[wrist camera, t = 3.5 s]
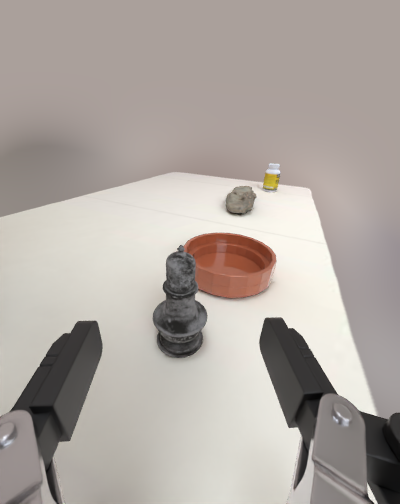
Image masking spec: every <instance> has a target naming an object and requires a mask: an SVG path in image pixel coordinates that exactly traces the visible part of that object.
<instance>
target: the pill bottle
mask: <svg viewBox="0 0 400 504" xmlns="http://www.w3.org/2000/svg"><path fill="white" fill-rule="evenodd" d="M279 167H280V165H279V164H269V169H268V170H266V173H265V178H264V184H263V190H264V191H268V192H275V191H277V187H278V182H279V177H280V171H279V170H278V169H279Z"/></svg>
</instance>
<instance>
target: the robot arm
mask: <svg viewBox="0 0 400 504" xmlns="http://www.w3.org/2000/svg"><path fill="white" fill-rule="evenodd" d="M259 343H260V350H261V354H262V356H263V359H264V362H265V365H266V367H267V370H268V373H269V375H270V378H271V381H272V384H273V386H274V389H275V392H276V394H277V397H278V400H279V403H280V405H281V408H282V411H283V413H284V416H285V419H286V422H287V424H288V427H289V428H294V427H298V428H299V430H300V433H301V435H302V436H301V439H300V443H299V448H298V453H297V458H296V464H295V469H294V474H293V479H292V484H291V489H290V493H289V497H288V500H287V503H286V504H374V503H373V501H371V500H370V499H369V497H368V492H367V482H368V484H369V486H370V488H371V490H372V492H373V494H374V496H375V499H376V501H377V503H378V504H400V413H395V414H393V415H392V416H391V417H390V418H389V419H384V418H381V417H377V416H374V415H371V414H367V413H364V412H361V411H359V410H358V409H357V408H356V407H355V406H354V405H353V404H352V403H351V402H350V401H348V400H347V399H345V398H344V397H342V396H339V395H338V394H337V392H336V391H335V389H334V388H333V386H332V384H331V383H330V381H329V380H328V378H327V376H326V375H325V373H324V371H323V370H322V368H321V366H320V365H319V363H318V361H317V360H316V358H314V355H313V353H312V351H311V350H310V349H309V347H308V345H307V343H306V342H305V340H304V338H303V337H302V336H301V335H300V334H299V333H298V332H297V331H296V330H295V329H293V328H289V329H288V327H287V325H286V323H285V322H284V320H283V319H282V318H281V317H280V318H265V320H264V324H263V328H262V332H261V336H260V342H259ZM101 355H102V340H101V335H100V331H99V327H98V323H97V321H78V322H77V323H76V324H75V326H74V328H73V330H72V331H71V333H65V334H63V335H62V336H61V337H60V338H59V339H57V340H56V341H55V342H54V343H53V344H52V346H51V348H50V349H49V351H48V352H47V354H46V357H44V359H43V360H42V362H41V364H40V367H38V368H37V370H36V372H35V373H34V375H33V376H32V378H31V380H30V381H29V383H28V384H27V386H26V388H25V389H24V391H23V392H22V394H21V396H20V397H19V399H18V400H17V402H16V404H15V405H14V407H13V408H12V409H11V411H10V412H9V413H7V414H5V415H3V416H1V417H0V504H65V501H64V497H63V493H62V488H61V484H60V480H59V475H58V471H57V466H56V462H55V458H54V453H55V451H56V448H57V446H58V443H59V442H63V441H70V439H71V437H72V434H73V431H74V428H75V426H76V423H77V420H78V418H79V415H80V412H81V409H82V407H83V404H84V401H85V399H86V396H87V393H88V391H89V388H90V385H91V382H92V380H93V377H94V374H95V372H96V369H97V366H98V363H99V361H100V358H101Z"/></svg>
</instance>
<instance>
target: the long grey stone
mask: <svg viewBox="0 0 400 504" xmlns="http://www.w3.org/2000/svg"><path fill="white" fill-rule="evenodd" d="M255 198H256V194H255V193H253V191H252V187H251V188H250V187H249V186H239V187H236V188H234V190H233V191H232V192H231V193H230V194H228V195H227V198H226V207H227V209H228V210H229V211H230V212H232V213H246V212H247V211H250V210H251V208H252V207H253V203H254V199H255Z"/></svg>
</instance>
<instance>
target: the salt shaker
mask: <svg viewBox="0 0 400 504" xmlns="http://www.w3.org/2000/svg"><path fill="white" fill-rule="evenodd" d="M177 250H179V251H178V252H174V253H172V254H171V255H169V257H168V258H167V260H166V278H167V280H166V281H165V282H164V284H163V290H164V292H165V293H166V300H165V301H163V302H162V303H161V304H159V305H158V306H157V308H156V309H155V311H154V313H153V322H154V325H155V326H156V328H157V329H158V331H159V333H158V335H157V343H158V347H159V348H160V349H161V351H162V352H164V353H165V354H166V355H168V356H171V357H176V358H182V357H187V356H190V355H192V354H194V353H195V352H196V351H197V350H198V349H199V348H200V346H201V344H202V340H203V336H202V332H201V330H202V328H203V327H204V326H205V324H206V322H207V312H206V310H205V308H204V306H203V305H202V304H200V303H199V302H198V301H196V300H195V294H196V293H197V291H198V284H197V282H196V281H195V269H196V262H195V259H194V257H193V256H192V255H191V254H189V253H187V252H184V250H185V248H183V246H182V245H180V246H179V248H177Z"/></svg>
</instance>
